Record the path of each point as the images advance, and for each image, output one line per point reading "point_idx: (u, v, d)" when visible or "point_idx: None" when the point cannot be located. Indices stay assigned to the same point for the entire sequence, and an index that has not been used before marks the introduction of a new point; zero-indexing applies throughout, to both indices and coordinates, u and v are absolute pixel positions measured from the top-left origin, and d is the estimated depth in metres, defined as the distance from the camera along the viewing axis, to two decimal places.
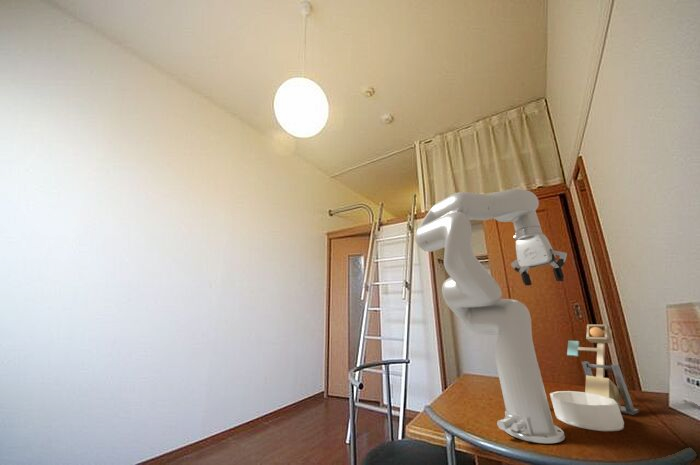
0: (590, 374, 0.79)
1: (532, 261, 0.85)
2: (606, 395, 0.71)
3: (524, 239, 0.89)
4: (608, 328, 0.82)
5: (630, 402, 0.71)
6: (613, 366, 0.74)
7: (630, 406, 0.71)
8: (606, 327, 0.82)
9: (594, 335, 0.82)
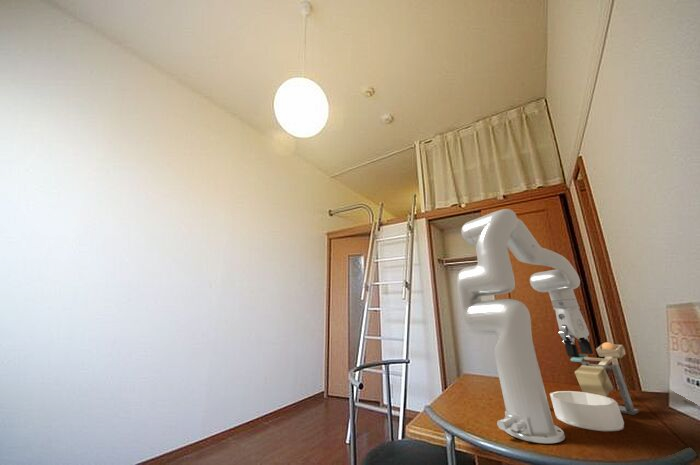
0: None
1: (583, 333, 0.90)
2: (595, 374, 0.72)
3: (574, 310, 0.92)
4: (622, 348, 0.82)
5: (630, 402, 0.71)
6: (613, 366, 0.74)
7: (630, 406, 0.71)
8: (620, 346, 0.82)
9: (605, 347, 0.83)
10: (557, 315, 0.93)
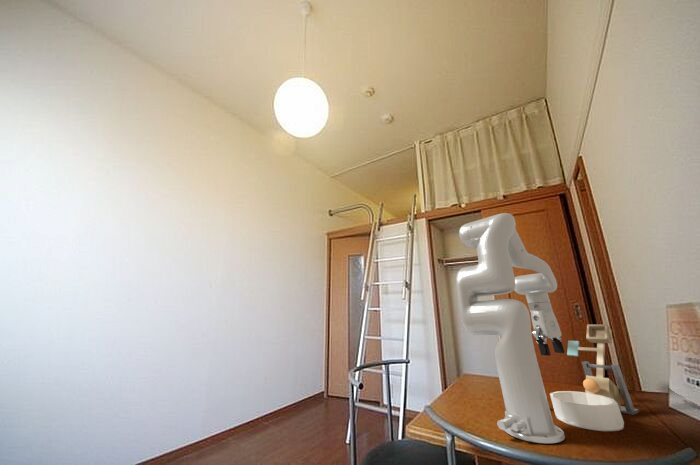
0: (590, 374, 0.79)
1: (555, 333, 0.97)
2: (606, 395, 0.71)
3: (547, 312, 0.99)
4: (608, 328, 0.82)
5: (630, 402, 0.71)
6: (613, 366, 0.74)
7: (630, 406, 0.71)
8: (606, 327, 0.82)
9: None
10: (532, 316, 1.00)
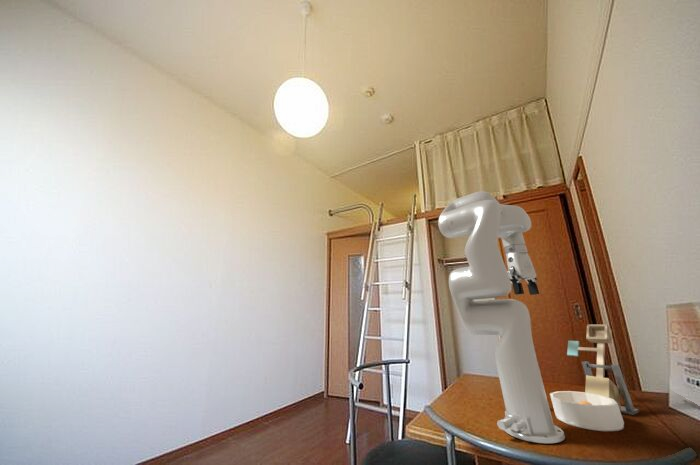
0: (590, 374, 0.79)
1: (529, 274, 0.97)
2: (606, 395, 0.71)
3: (522, 253, 0.99)
4: (608, 328, 0.82)
5: (630, 402, 0.71)
6: (613, 366, 0.74)
7: (630, 406, 0.71)
8: (606, 327, 0.82)
9: None
10: (507, 259, 1.00)
